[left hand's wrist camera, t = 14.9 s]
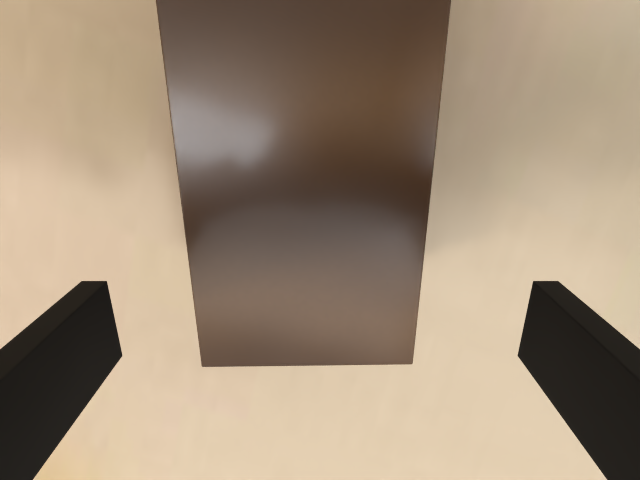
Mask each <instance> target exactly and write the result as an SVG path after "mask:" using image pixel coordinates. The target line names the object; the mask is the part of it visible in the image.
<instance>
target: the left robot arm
mask: <svg viewBox="0 0 640 480" xmlns="http://www.w3.org/2000/svg"><path fill="white" fill-rule="evenodd" d="M121 357H122V352H121V347H120V342H119V337H118V333H117V328H116V323H115V318H114V313H113V309H112V304H111V299H110V294H109V290H108V285H107V281H81V282H80V283H79V284H78V285H77V286H75V287H74V288H73V289H72V290H71V291H69V292H68V293H67V294H66V295H65V296H64V297H62V298H61V299H60V300H59V301H58V302H56V303H55V304H54V305H53V306H52V307H50V308H49V309H48V310H47V311H46V312H44V313H43V314H42V315H41V316H40V317H38V318H37V319H36V320H35V321H34V322H32V323H31V324H30V325H29V326H28V327H26V328H25V329H24V330H23V331H22V332H20V333H19V334H18V335H17V336H16V337H14V338H13V339H12V340H11V341H10V342H9V343H7V344H6V345H5V346H4V347H3V348H1V349H0V480H33V479H34V477H35V476H36V474H37V473H38V472H39V470H40V469H41V468H42V466H43V465H44V463H45V462H46V461H47V459H48V458H49V456H50V455H51V454H52V452H53V451H54V450H55V448H56V447H57V445H58V444H59V443H60V441H61V440H62V438H63V437H64V436H65V434H66V433H67V432H68V430H69V429H70V427H71V426H72V425H73V423H74V422H75V420H76V419H77V418H78V416H79V415H80V414H81V412H82V411H83V409H84V408H85V407H86V405H87V404H88V402H89V401H90V400H91V398H92V397H93V396H94V394H95V393H96V391H97V390H98V389H99V387H100V386H101V384H102V383H103V382H104V380H105V379H106V378H107V376H108V375H109V373H110V372H111V371H112V369H113V368H114V366H115V365H116V364H117V362H118V361H119V360H120V358H121ZM518 357H519V358H520V360H521V361H522V362H523V364H524V365H525V366H526V368H527V369H528V371H529V372H530V373H531V375H532V376H533V378H534V379H535V380H536V382H537V383H538V384H539V386H540V387H541V389H542V390H543V391H544V393H545V394H546V396H547V397H548V398H549V400H550V401H551V402H552V404H553V405H554V407H555V408H556V409H557V411H558V412H559V414H560V415H561V416H562V418H563V419H564V420H565V422H566V423H567V425H568V426H569V427H570V429H571V430H572V432H573V433H574V434H575V436H576V437H577V438H578V440H579V441H580V443H581V444H582V445H583V447H584V448H585V450H586V451H587V452H588V454H589V455H590V456H591V458H592V459H593V461H594V462H595V463H596V465H597V466H598V468H599V469H600V470H601V472H602V473H603V474H604V476H605V477H606V479H607V480H640V349H639V348H637V347H636V346H635V345H634V344H633V343H631V342H630V341H629V340H628V339H627V338H626V337H624V336H623V335H622V334H621V333H620V332H618V331H617V330H616V329H615V328H614V327H612V326H611V325H610V324H609V323H608V322H606V321H605V320H604V319H603V318H602V317H600V316H599V315H598V314H597V313H596V312H594V311H593V310H592V309H591V308H590V307H588V306H587V305H586V304H585V303H584V302H582V301H581V300H580V299H579V298H578V297H576V296H575V295H574V294H573V293H572V292H571V291H569V290H568V289H567V288H566V287H565V286H563V285H562V284H561V283H560V282H559V281H533V285H532V290H531V294H530V299H529V304H528V309H527V313H526V318H525V323H524V328H523V333H522V337H521V342H520V347H519V352H518Z"/></svg>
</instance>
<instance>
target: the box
mask: <svg viewBox="0 0 640 480" xmlns="http://www.w3.org/2000/svg"><path fill="white" fill-rule="evenodd" d="M450 4H451V0H156V5H157V13H158V21H159V29H160V37H161V45H162V53H163V61H164V69H165V77H166V85H167V92H168V100H169V108H170V116H171V124H172V132H173V140H174V148H175V156H176V164H177V172H178V180H179V188H180V196H181V204H182V212H183V220H184V228H185V236H186V244H187V252H188V260H189V268H190V276H191V284H192V292H193V300H194V308H195V316H196V324H197V331H198V339H199V347H200V355H201V363H202V367H230V366H309V365H388V364H412V363H413V355H414V345H415V336H416V326H417V317H418V307H419V298H420V288H421V279H422V270H423V260H424V251H425V241H426V232H427V222H428V213H429V203H430V194H431V184H432V175H433V165H434V156H435V146H436V137H437V127H438V118H439V108H440V99H441V90H442V80H443V71H444V61H445V52H446V42H447V33H448V23H449V14H450Z"/></svg>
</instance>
